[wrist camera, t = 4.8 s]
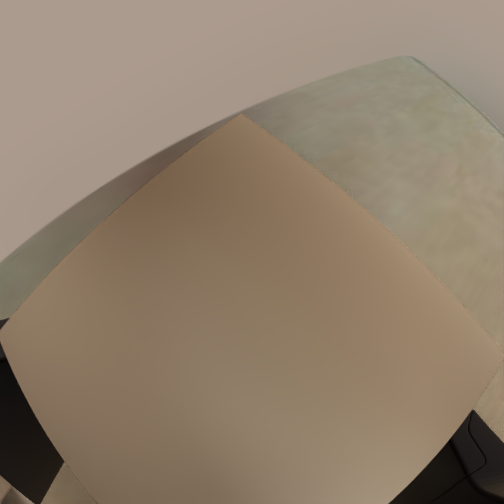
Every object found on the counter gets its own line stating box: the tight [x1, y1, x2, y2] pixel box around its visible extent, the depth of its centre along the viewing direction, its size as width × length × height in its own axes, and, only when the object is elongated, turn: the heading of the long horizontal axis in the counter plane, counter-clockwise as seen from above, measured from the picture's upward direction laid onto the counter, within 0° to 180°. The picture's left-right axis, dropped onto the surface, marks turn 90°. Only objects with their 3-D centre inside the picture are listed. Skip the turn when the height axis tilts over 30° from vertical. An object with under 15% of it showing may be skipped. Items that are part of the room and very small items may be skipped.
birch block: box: [0, 114, 504, 504], centre depth 8 cm, size 5×5×11 cm
